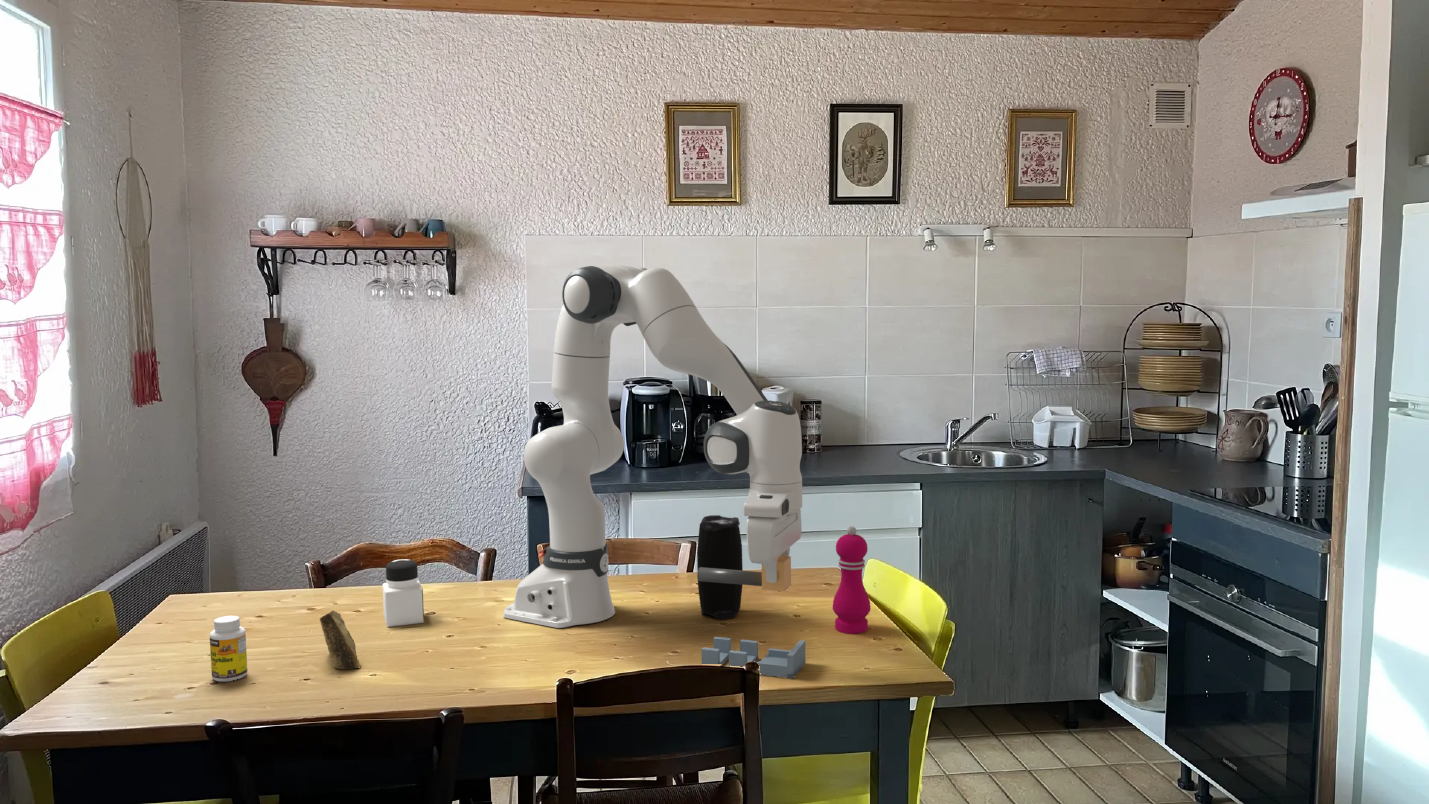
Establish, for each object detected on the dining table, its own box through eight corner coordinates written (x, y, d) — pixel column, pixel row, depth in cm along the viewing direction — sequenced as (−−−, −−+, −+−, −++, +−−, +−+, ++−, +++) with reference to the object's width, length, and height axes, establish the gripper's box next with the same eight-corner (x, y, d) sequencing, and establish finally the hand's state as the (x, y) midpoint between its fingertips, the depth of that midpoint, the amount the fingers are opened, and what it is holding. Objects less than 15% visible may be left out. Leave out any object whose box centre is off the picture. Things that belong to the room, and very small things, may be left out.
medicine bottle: (424, 623, 209) (421, 563, 208) (386, 627, 206) (384, 567, 205) (420, 613, 215) (417, 555, 214) (383, 617, 213) (381, 559, 212)
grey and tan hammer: (695, 583, 183) (695, 555, 182) (703, 577, 187) (703, 550, 186) (784, 591, 177) (784, 562, 177) (791, 585, 181) (790, 556, 181)
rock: (315, 639, 193) (294, 650, 183) (343, 600, 193) (324, 609, 183) (362, 674, 193) (345, 687, 183) (391, 635, 193) (375, 646, 183)
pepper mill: (869, 635, 198) (869, 531, 196) (830, 633, 200) (830, 529, 197) (871, 624, 205) (871, 522, 203) (834, 622, 207) (834, 521, 204)
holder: (753, 674, 179) (753, 651, 178) (767, 658, 186) (766, 636, 186) (793, 678, 176) (793, 655, 176) (805, 663, 184) (805, 640, 183)
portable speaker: (750, 611, 214) (750, 516, 212) (724, 624, 206) (724, 525, 204) (715, 605, 219) (715, 512, 217) (689, 616, 211) (688, 520, 209)
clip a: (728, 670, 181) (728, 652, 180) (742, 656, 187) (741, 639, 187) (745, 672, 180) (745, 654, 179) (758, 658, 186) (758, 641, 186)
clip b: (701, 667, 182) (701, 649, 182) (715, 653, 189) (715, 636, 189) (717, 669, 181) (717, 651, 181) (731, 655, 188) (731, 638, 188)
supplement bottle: (204, 682, 178) (201, 623, 177) (225, 670, 183) (221, 613, 182) (235, 683, 177) (231, 624, 176) (254, 672, 182) (251, 614, 181)
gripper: (775, 485, 189) (776, 561, 191) (739, 507, 170) (740, 591, 171) (809, 487, 187) (810, 563, 188) (777, 509, 168) (778, 594, 169)
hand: (776, 577), depth 180 cm, fingers closed on grey and tan hammer, 4 cm apart
